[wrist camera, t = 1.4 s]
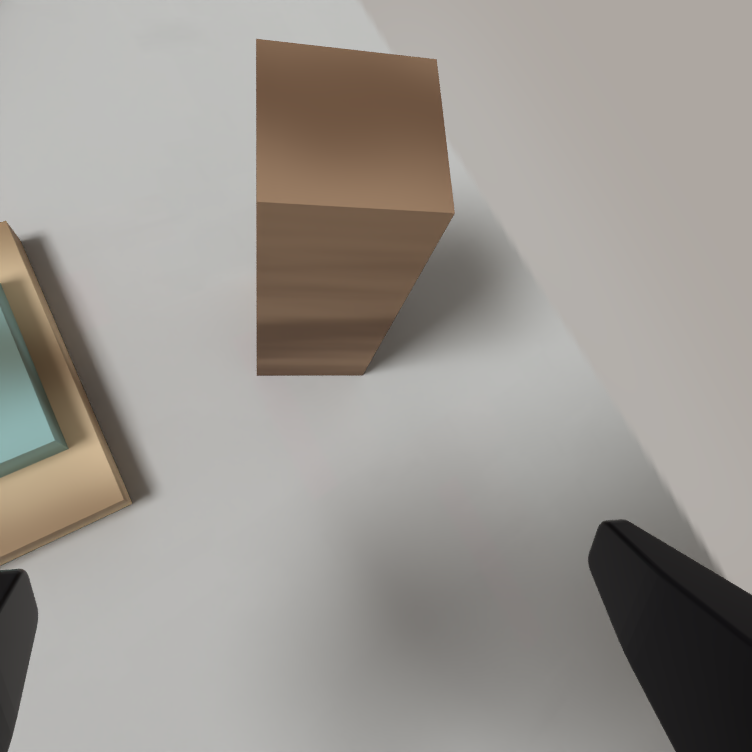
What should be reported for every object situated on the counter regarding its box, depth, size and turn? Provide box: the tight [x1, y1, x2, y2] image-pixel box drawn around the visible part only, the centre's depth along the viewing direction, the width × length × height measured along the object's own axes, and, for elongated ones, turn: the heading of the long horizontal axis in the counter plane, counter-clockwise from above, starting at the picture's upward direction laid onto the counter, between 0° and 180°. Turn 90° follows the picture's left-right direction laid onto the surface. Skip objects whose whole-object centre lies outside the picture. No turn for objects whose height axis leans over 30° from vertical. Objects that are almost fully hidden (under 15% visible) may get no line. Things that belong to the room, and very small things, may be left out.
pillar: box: [256, 39, 455, 376], centre depth 19 cm, size 4×4×12 cm
